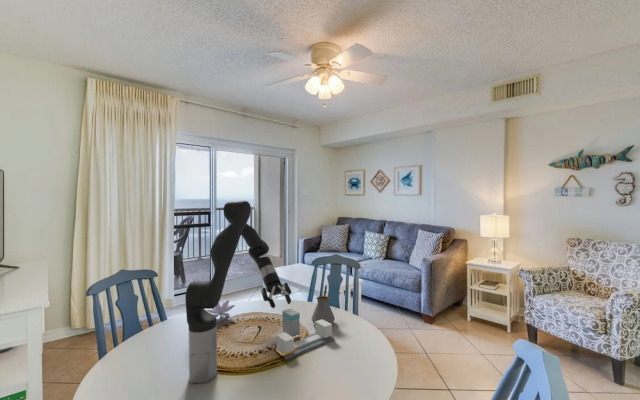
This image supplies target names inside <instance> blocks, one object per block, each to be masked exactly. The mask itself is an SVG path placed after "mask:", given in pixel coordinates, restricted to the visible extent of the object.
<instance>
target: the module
mask: <svg viewBox="0 0 640 400" xmlns="http://www.w3.org/2000/svg"><path fill="white" fill-rule="evenodd" d="M281 314H282V333H283V332H286V333H287V334H289V335H290V336H292V337H293V336H296V335H299V334H301V333H300V327H301V326H300V319H301V318H300V312H298V311H297V310H294V309H293V308H288V309H285V310H282V313H281Z"/></svg>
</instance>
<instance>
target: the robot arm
mask: <svg viewBox="0 0 640 400" xmlns="http://www.w3.org/2000/svg"><path fill="white" fill-rule="evenodd" d="M251 207H252V206H251V203H250V202H249V201H247V200H234V201H233V200H232V201H227V202H226V203H225V204H224V206H223V215H224V218H225V219H226V220H227V221H228V223H229V225H227V227H225V228H224V229H222V231H220V233H219V234H217V236H216V237H215V239H214V241H213V243H212V245H211V248H210V252H209V253H210V259H211V262H212V264H213V267H214V273H213V276H212V278H211V280H209V281H208V280H206V281H205V280H195V281H191V282H190V283H189V284H188V286H187V288H186V290H185V313H186V324H187V325H188V371H189V373H188V375H189V376H188V377H189V381H190V382H189V383H190V384H201V383H204V384H205V383H210V381H211V380H212V379H214V378H215V377H216V376H217V375H218V350H217V349H218V345H217V343H218V341H217V340H218V334H217V331H218V329H217V327H218V326H217V324H218V323H217V320H218V319H217V317H215V316H214V315H213V314H214V313H210V312H208V311H206V309H207V310H213V309H212V308H215V307H216V306H217V304H218V303H219V302H220V300H221V297H222V295H223V290H224V288H225V287H224V286H225V284H226V278H227V276H228V272H229V269H230V267H231V263H232V261H233V258H234V256H235V254H236V250H237V248H238V244H239V241H240V238H241V237H242V238H243V240H244V241H245V244H247V246H248V247H249V248H248V255H249V256H250V258H251V259H252V260H253V261H254V262H255V263H256V265H257V267H258V270H259V272H260V276H261V279H262V281H263V284H264V286H265V287H262V289H261V290H260V292H261V295H262V299H263V301H264V302H268V303H269V305H270V307H271V309H275V307H276V304H275V300H274V298H273V296H277V295H278V296H279V295H281V296H284V298H285V300H286V302H287V305H290V304H291V303H292V298H291V296H290V295H291V294H292V289H291V288H290V286H289V284H288V282H285V283H281V279H280V277H279V275H278V272H277V270H276V268H275V267H274V265H273V262H272V260H271V258H270V257H269V256H265V255H267V254H268V253H269V251H270V247H269V245H268V243H267V242H266V241H265V240H263V239H262V238H261V237H260V235H259V233H258V232H257V231H256V229H255V228H254V227H253V226H251V225H250V224H248V221H249V219H250V216H251V211H252V208H251ZM267 292H268V293H269V294H268V293H267ZM219 304H220V303H219Z"/></svg>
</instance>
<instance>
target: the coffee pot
mask: <svg viewBox="0 0 640 400" xmlns="http://www.w3.org/2000/svg"><path fill="white" fill-rule="evenodd" d="M327 289H328V285H327V284H325V285H324V290H323V295H320V296H317V297H316V300H317V304H316V306H315V308H314V312H313V314H312V315H311V321H312V323H313V324H314V325H315V321H318V320H321V319H323V320H325V321H327V322H329V323H331V324H332V325H333V323H334V322H335V315H334V312H333V310H332V308H331V306H330V303H329V301H330V300H331V298H330V297H329V296H326V295H327Z"/></svg>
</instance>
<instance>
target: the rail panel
mask: <svg viewBox="0 0 640 400" xmlns="http://www.w3.org/2000/svg"><path fill="white" fill-rule="evenodd" d="M314 329H315V330H314V331H315V332H314V333H312V334H309V335H306V336H304V337H305V339H303V340H300V341H298V342H295V343H294V341H295V339H294V338H293V337H292V336H290V335H289V334H287V333H286V332H283V331H282V332H281V333H277V334H276V335H275V336H276V338H275V339H276V347H275V348H278V351H280V352H281V353H283V352H284V353H285V354H287V353H289V352H292V351H294V347H295V346H296V347H298V349H297V350H296V351H295V352H293V353H292V354H290V355H288V356H286V357H285V359H286V360H285V359H284V360H285V361H288V360H289V359H292V358H294V357H297V356H299V355H302V354H304V353H306V352H309V351H312V350H314V349H316V348H317V349H318V348H319V347H321V346H324V345H326V344H328V343H331V342H333V341H335V338H336V337H334V336H333V323H332V324H331V323H329V322H327V321H325V320H323V319H321V320H318V321H315V324H314Z"/></svg>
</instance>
